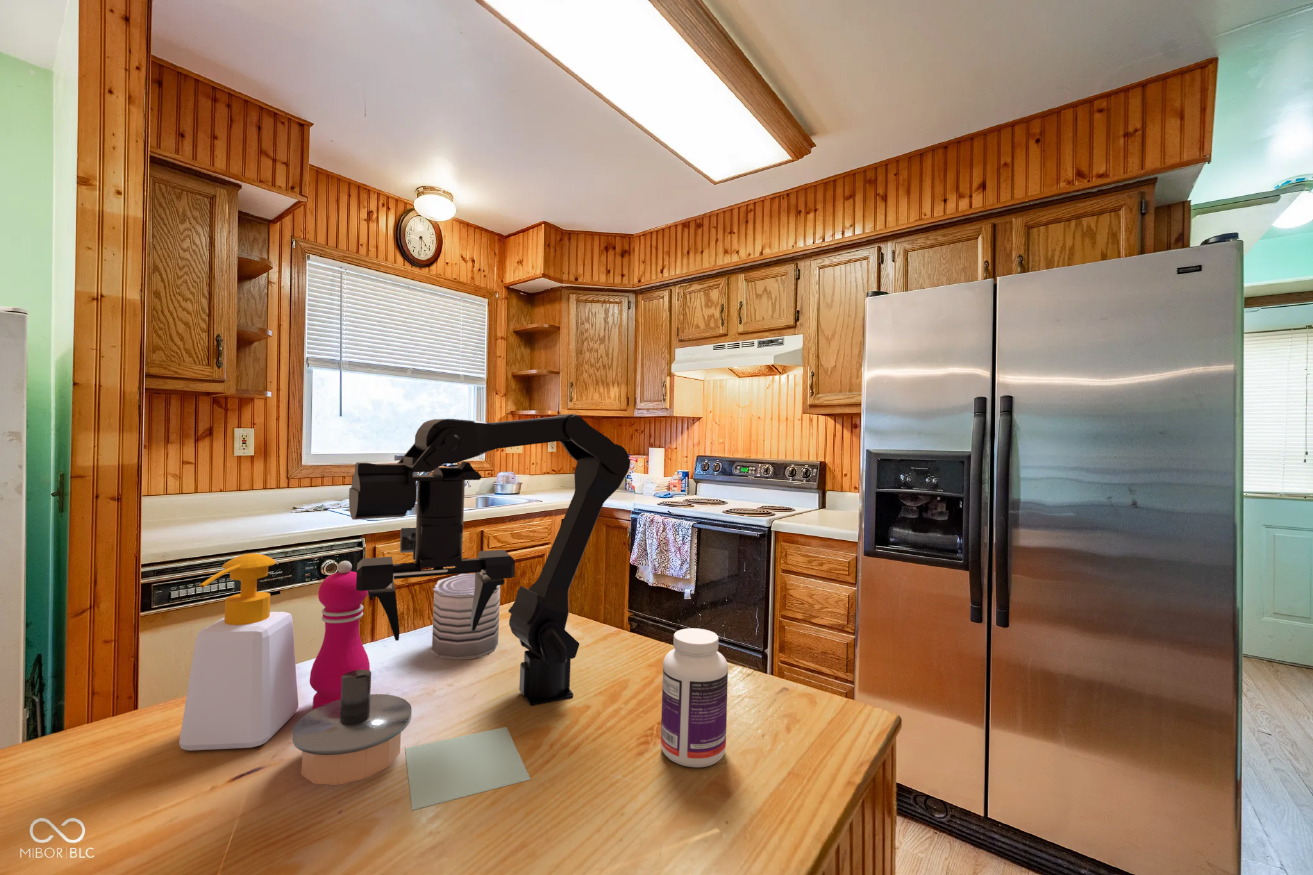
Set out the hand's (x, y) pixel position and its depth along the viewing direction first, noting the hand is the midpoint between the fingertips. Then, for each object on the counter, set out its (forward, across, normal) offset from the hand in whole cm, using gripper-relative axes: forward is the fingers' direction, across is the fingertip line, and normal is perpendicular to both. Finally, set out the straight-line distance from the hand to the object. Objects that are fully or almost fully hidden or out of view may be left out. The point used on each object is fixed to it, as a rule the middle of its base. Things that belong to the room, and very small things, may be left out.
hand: (436, 634), depth 71 cm
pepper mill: (+12, +11, -11) cm, 20 cm away
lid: (+8, +9, +4) cm, 13 cm away
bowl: (+12, +9, +4) cm, 15 cm away
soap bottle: (+12, +22, -6) cm, 26 cm away
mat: (+12, -2, +10) cm, 16 cm away
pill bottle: (+12, -28, +19) cm, 36 cm away
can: (+12, -8, -26) cm, 30 cm away
